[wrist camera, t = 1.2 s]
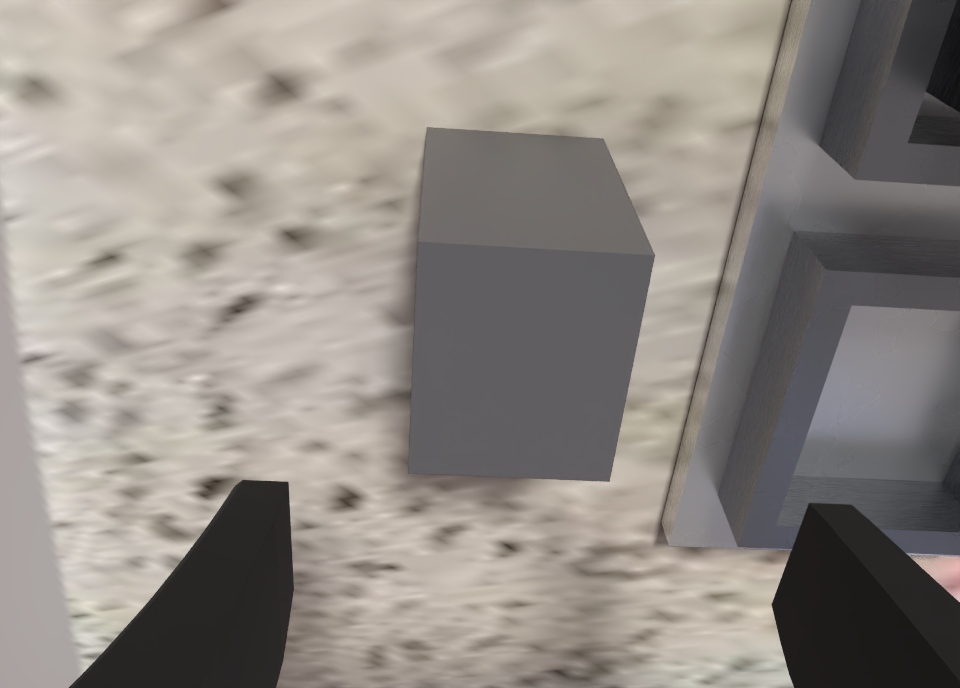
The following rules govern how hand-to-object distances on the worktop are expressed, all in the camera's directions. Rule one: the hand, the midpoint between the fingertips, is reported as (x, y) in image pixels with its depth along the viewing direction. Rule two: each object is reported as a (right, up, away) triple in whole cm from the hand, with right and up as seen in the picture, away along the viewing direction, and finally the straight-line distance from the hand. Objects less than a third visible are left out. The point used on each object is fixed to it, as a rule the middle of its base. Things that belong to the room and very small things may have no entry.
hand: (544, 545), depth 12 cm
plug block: (0, +5, +9) cm, 10 cm away
